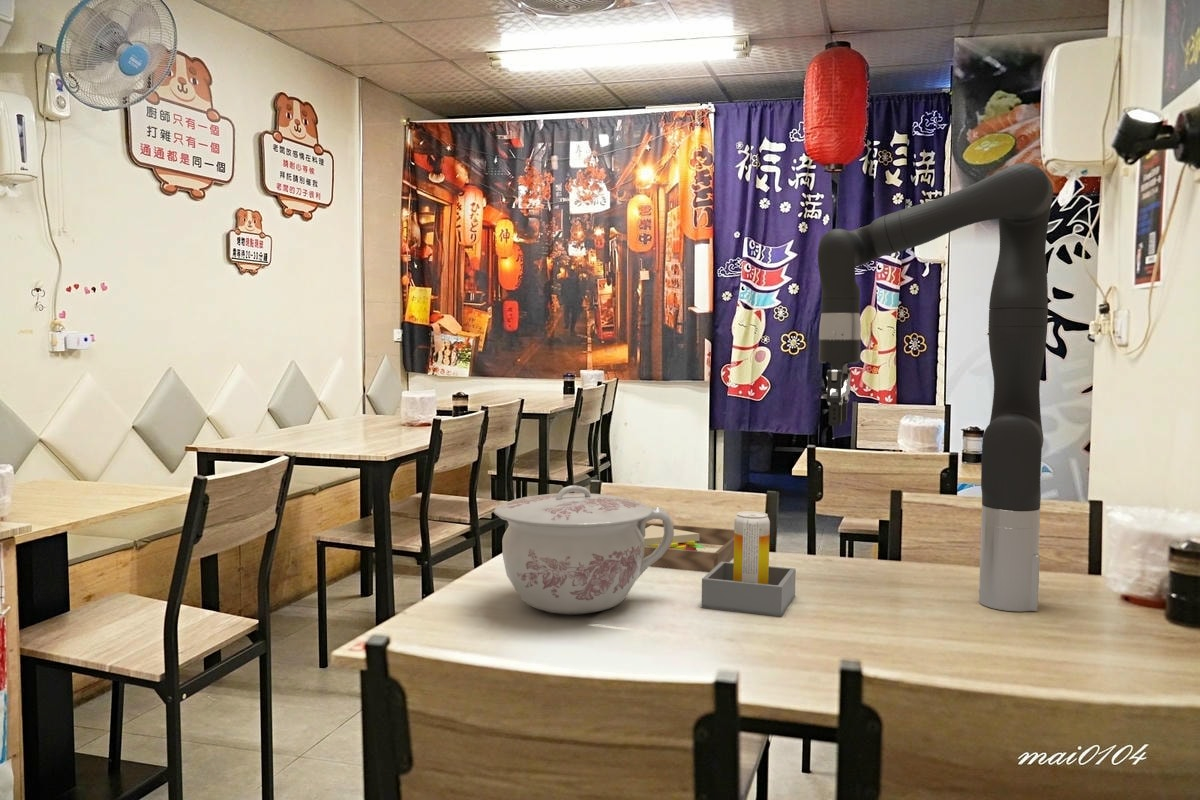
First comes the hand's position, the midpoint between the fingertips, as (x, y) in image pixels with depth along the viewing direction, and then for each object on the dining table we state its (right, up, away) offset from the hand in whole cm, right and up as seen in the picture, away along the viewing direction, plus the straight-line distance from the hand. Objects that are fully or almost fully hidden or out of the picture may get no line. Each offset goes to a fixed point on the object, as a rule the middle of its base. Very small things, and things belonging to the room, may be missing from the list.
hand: (837, 423), depth 174 cm
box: (-19, -31, -12) cm, 38 cm away
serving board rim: (-29, -29, +23) cm, 46 cm away
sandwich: (-34, -29, +23) cm, 51 cm away
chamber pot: (-49, -31, -14) cm, 60 cm away
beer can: (-18, -31, -12) cm, 38 cm away
